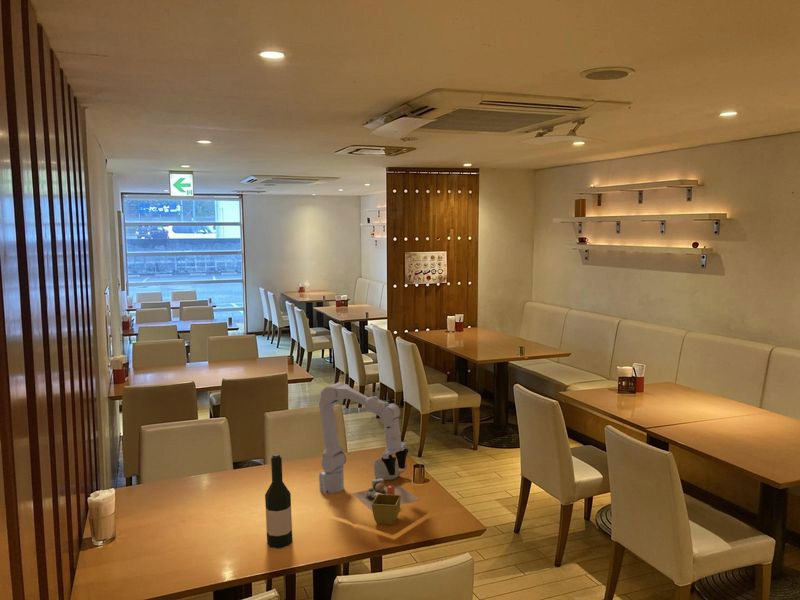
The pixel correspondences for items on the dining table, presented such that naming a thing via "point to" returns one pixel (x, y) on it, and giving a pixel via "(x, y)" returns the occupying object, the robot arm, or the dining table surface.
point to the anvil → (376, 481)
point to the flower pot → (386, 508)
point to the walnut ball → (379, 487)
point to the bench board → (399, 490)
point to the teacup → (382, 471)
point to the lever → (373, 494)
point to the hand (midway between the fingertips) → (397, 471)
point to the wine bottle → (278, 508)
